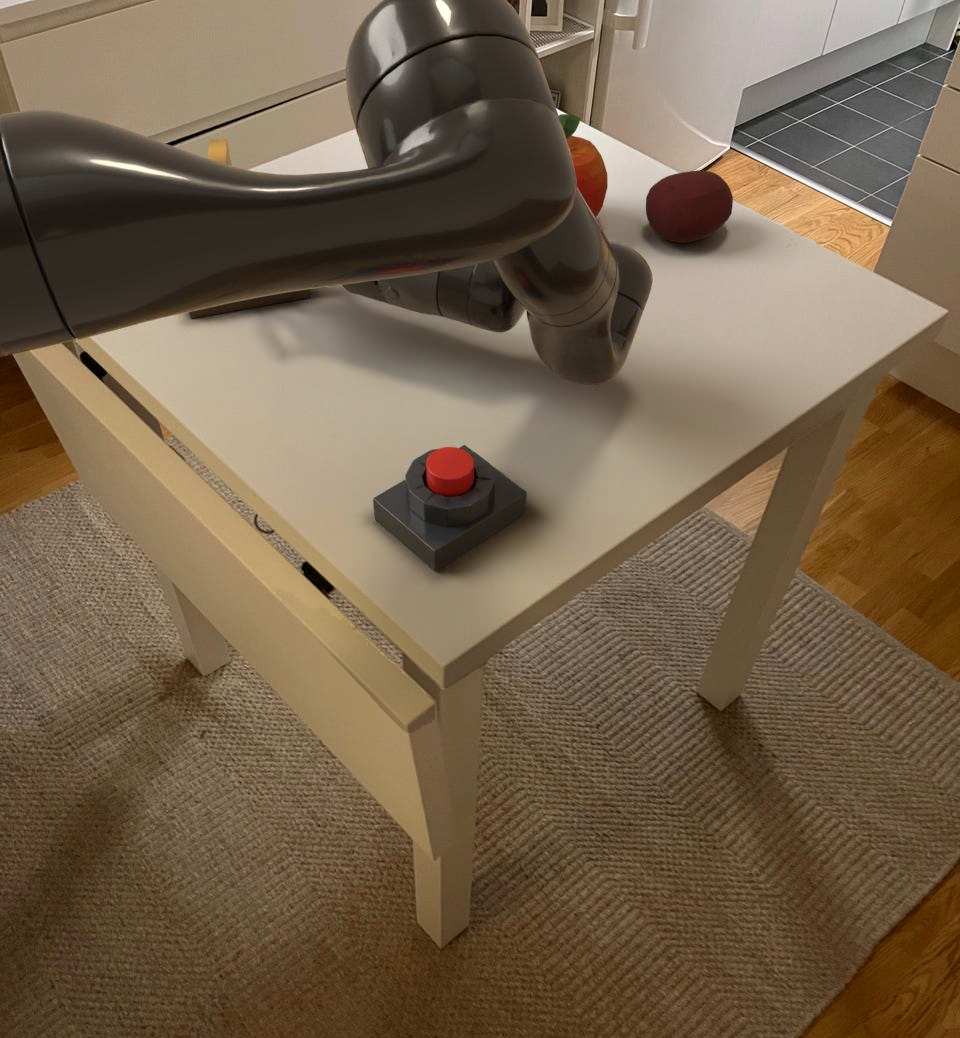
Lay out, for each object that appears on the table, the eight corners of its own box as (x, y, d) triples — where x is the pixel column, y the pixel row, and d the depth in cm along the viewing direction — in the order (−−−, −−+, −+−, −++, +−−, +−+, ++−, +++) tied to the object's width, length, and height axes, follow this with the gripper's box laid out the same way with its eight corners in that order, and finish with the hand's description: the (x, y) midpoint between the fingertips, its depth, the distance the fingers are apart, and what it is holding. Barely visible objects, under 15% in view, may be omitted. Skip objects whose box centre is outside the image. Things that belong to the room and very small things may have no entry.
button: (448, 504, 70) (447, 486, 69) (417, 479, 72) (416, 460, 70) (483, 482, 72) (484, 464, 70) (452, 458, 73) (452, 439, 72)
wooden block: (225, 224, 95) (208, 136, 88) (242, 223, 95) (226, 136, 88) (223, 271, 90) (205, 182, 83) (241, 270, 90) (224, 181, 84)
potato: (630, 220, 101) (639, 161, 96) (712, 210, 102) (725, 151, 97) (657, 260, 96) (668, 201, 91) (742, 249, 98) (757, 189, 93)
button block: (435, 572, 71) (434, 533, 68) (374, 519, 74) (370, 479, 71) (525, 513, 75) (529, 474, 72) (464, 465, 78) (464, 425, 75)
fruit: (493, 240, 98) (496, 137, 90) (524, 193, 103) (530, 93, 95) (586, 261, 96) (598, 157, 88) (613, 212, 101) (626, 111, 93)
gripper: (442, 177, 82) (262, 130, 86) (363, 257, 74) (171, 200, 78) (443, 260, 88) (275, 212, 92) (369, 342, 80) (190, 285, 84)
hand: (227, 207), depth 85 cm, fingers closed
